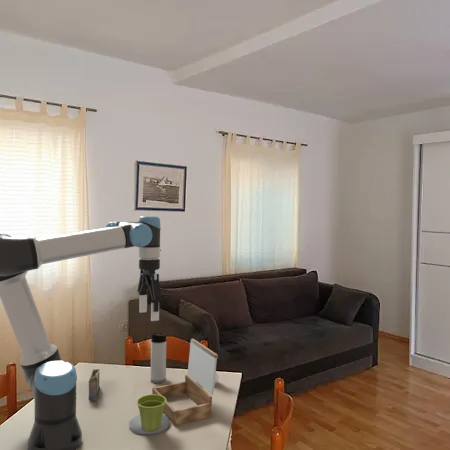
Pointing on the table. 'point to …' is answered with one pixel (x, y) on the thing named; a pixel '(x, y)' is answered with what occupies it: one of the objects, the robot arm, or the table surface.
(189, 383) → the frame
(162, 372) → the travel mug
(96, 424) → the table surface
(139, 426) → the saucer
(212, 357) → the lid
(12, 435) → the table surface
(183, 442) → the table surface
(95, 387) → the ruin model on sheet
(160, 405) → the plant pot
